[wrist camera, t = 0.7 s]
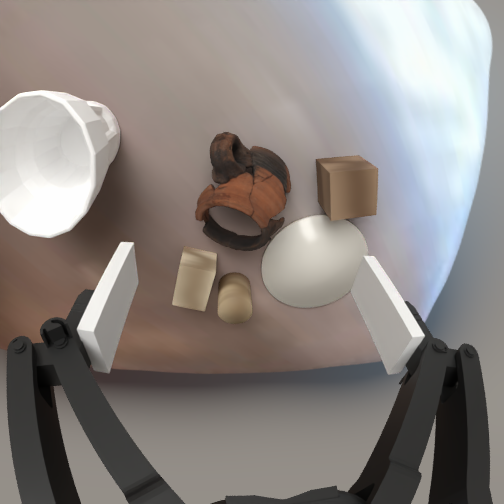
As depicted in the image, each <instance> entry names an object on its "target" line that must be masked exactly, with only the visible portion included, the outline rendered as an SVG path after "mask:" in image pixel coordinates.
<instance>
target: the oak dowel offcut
mask: <svg viewBox="0 0 504 504" xmlns="http://www.w3.org/2000/svg"><path fill="white" fill-rule="evenodd" d="M218 315H219V317H220V318H221V319H222V320H223V321H225V322H227V323H231V324H239V323H243V322H245V321H247V320H248V319H249V318H250V317H251V315H252V302H251V292H250V282H249V280H248V278H247V277H246V276H244V275H243V274H240V273H228V274H226V275H224V276H223V277H222V278H221V279H220V281H219V287H218Z"/></svg>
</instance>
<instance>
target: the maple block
mask: <svg viewBox="0 0 504 504" xmlns="http://www.w3.org/2000/svg"><path fill="white" fill-rule="evenodd" d="M216 259H217V253H212V252H208V251H203V250H199V249H195V248H190V247H186V246H184V249H183V253H182V257H181V262H180V266H179V271H178V276H177V281H176V286H175V292H174V297H173V302H172V305H175V306H180V307H185V308H190V309H194V310H199V311H204V312H205V308H206V305H207V301H208V298H209V294H210V291H211V287H212V284H213V280H214V277H215V274H216Z"/></svg>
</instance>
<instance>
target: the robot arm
mask: <svg viewBox="0 0 504 504" xmlns="http://www.w3.org/2000/svg"><path fill="white" fill-rule="evenodd" d="M138 283H139V282H138V274H137V267H136V258H135V250H134V243H133V242H121V243H120V244H119V246H118V248H117V250H116V252H115V253H114V255H113V257H112V259H111V261H110V262H109V264H108V266H107V268H106V270H105V272H104V274H103V276H102V278H101V280H100V282H99V283H98V285H97V287H96V289H95V290H86V289H85V290H84V291H83V292H82V293H81V294H80V295H79V296H78V297H77V299H76V301H75V303H74V305H73V307H72V309H71V311H70V313H69V315H68V317H67V319H66V320H65V319H62V318H58V317H55V318H51V319H49V320H47V321H46V322H45V323H44V324H43V325H42V326H41V329H40V335H41V337H42V339H43V341H44V343H35V344H32V342H31V340H30V339H29V338H28V337H25V336H19V337H17V338H15V339H13V340H12V341H11V342H10V344H9V346H8V350H7V410H8V424H9V435H10V443H11V451H12V458H13V464H14V469H15V475H16V480H17V484H18V489H19V493H20V497H21V501H22V504H81V502H80V499H79V496H78V493H77V490H76V487H75V484H74V480H73V477H72V474H71V470H70V467H69V463H68V459H67V455H66V452H65V447H64V443H63V439H62V434H61V429H60V424H59V420H58V414H57V407H56V401H55V394H54V387H53V386H57V385H58V386H59V385H62V387H63V389H64V391H65V393H66V395H67V398H68V400H69V402H70V404H71V406H72V408H73V410H74V412H75V414H76V416H77V418H78V420H79V422H80V424H81V426H82V428H83V430H84V432H85V433H86V435H87V437H88V438H89V440H90V442H91V444H92V446H93V447H94V449H95V451H96V452H97V454H98V456H99V457H100V459H101V461H102V462H103V464H104V465H105V467H106V468H107V470H108V472H109V473H110V475H111V476H112V478H113V479H114V480H115V482H116V483H117V485H118V486H119V488H120V489H121V490H122V492H123V493H124V495H125V497H126V500H127V501H128V503H129V504H185V503H184V502H183V501H182V500H181V499H180V498H179V496H178V495H177V494H176V493H175V492H174V491H173V490H172V489H171V487H170V486H169V485H168V484H167V483H166V482H165V481H164V479H163V478H162V477H161V476H160V475H159V474H158V473H157V472H156V470H155V469H154V468H153V467H152V465H151V464H150V463H149V461H148V460H147V459H146V458H145V456H144V455H143V454H142V452H141V451H140V450H139V448H138V447H137V445H136V444H135V443H134V441H133V440H132V438H131V437H130V435H129V434H128V433H127V431H126V430H125V428H124V427H123V425H122V424H121V422H120V421H119V419H118V418H117V416H116V415H115V413H114V411H113V410H112V408H111V406H110V405H109V403H108V402H107V400H106V398H105V396H104V395H103V393H102V391H101V390H100V388H99V386H98V385H97V383H96V381H95V379H94V377H93V375H92V373H91V372H90V370H89V368H90V365H92V367H93V369H94V371H98V372H105V373H110V370H111V366H112V363H113V359H114V356H115V352H116V349H117V346H118V342H119V339H120V336H121V333H122V330H123V327H124V324H125V320H126V317H127V314H128V311H129V309H130V306H131V303H132V300H133V297H134V294H135V291H136V289H137V286H138ZM351 294H352V296H353V298H354V300H355V302H356V304H357V306H358V309H359V311H360V313H361V315H362V317H363V319H364V321H365V323H366V326H367V328H368V330H369V332H370V334H371V336H372V339H373V341H374V343H375V345H376V348H377V350H378V352H379V354H380V357H381V359H382V361H383V363H384V366H385V368H386V370H387V373H388V374H396V373H400V372H401V371H402V370H403V368H404V366H405V365H406V367H407V369H408V372H407V373H406V374H405V376H404V377H403V378H402V380H401V381H400V382H399V384H401V383H402V385H401V388H400V391H399V393H398V396H397V398H396V401H395V404H394V406H393V408H392V411H391V413H390V415H389V418H388V420H387V422H386V425H385V427H384V429H383V431H382V434H381V436H380V438H379V440H378V442H377V444H376V446H375V448H374V451H373V452H372V454H371V456H370V458H369V461H368V462H367V464H366V466H365V468H364V470H363V472H362V473H361V475H360V477H359V479H358V480H357V482H356V483H355V484H354V485H353V486H352V487H351V488H350V490H349V491H348V492H345V491H339V490H337V486H332V487H327V488H321V489H315V490H310V491H307V492H305V493H302V494H300V495H297V496H294V497H291V498H288V499H283V500H282V499H274V498H267V497H261V496H255V495H253V496H226V498H225V500H221V501H217V502H214V503H212V504H411V501H412V500H413V498H414V495H415V493H416V490H417V488H418V485H419V483H420V480H421V473H420V472H418V469H419V466H420V463H421V460H422V457H423V455H424V452H425V449H426V446H427V443H428V439H429V436H430V433H431V430H432V426H433V423H434V419H435V415H436V431H435V449H434V461H433V471H432V480H431V487H430V494H429V502H428V504H493V502H492V498H491V493H490V488H489V482H490V450H489V449H490V448H489V430H488V429H489V428H488V416H487V407H486V398H485V391H484V384H483V378H482V372H481V366H480V361H479V357H478V353H477V351H476V350H475V348H474V347H473V346H471V345H469V344H462V345H461V346H460V348H459V349H458V350H454V349H449V348H448V347H447V345H446V344H445V343H444V342H443V341H441V340H440V339H437V338H433V337H432V335H431V333H430V331H429V330H428V328H427V327H426V325H425V323H424V322H423V321H422V318H421V317H420V315H419V314H418V312H417V310H416V309H415V307H414V306H412V305H411V304H410V303H409V302H408V301H403V299H402V297H401V296H400V294H399V293H398V291H397V290H396V288H395V287H394V285H393V283H392V282H391V280H390V279H389V277H388V276H387V274H386V273H385V271H384V270H383V269H382V267H381V266H380V264H379V263H378V261H377V260H376V258H375V257H374V256H363V258H362V261H361V264H360V267H359V269H358V272H357V275H356V278H355V281H354V283H353V286H352V289H351Z"/></svg>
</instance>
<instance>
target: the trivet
mask: <svg viewBox="0 0 504 504" xmlns="http://www.w3.org/2000/svg"><path fill="white" fill-rule="evenodd" d="M363 256H368V248H367V244H366V241H365V239H364V236H363V235H362V233H361V232H360V231H359V229H358V228H357V227H356V226H355V225H353V224H352V223H351V222H349V221H347V220H346V219H342V220H334V221H331V220H330V219H329V217H328V216H327V215H323V214H322V215H313V216H308V217H304V218H301V219H299V220H296V221H294V222H292V223H291V224H289V225H287V226H286V227H284V228H283V229H282V230H281V231H279V232H278V233H277V234H276V235H275V236H274V238H273V239H272V240H271V241H270V243H269V244H268V246H267V248H266V250H265V252H264V255H263V259H262V265H261V271H262V277H263V281H264V284H265V286H266V288H267V289H268V291H269V292H270V293H271V294H272V295H273V296H274V297H275V298H276V299H277V300H279V301H281V302H283V303H285V304H287V305H290V306H294V307H300V308H312V307H319V306H323V305H326V304H329V303H332V302H334V301H336V300H338V299H340V298H341V297H343V296H344V295H346V294H347V293H348V292H349V291H350V290H351V289H352V286H353V283H354V281H355V278H356V275H357V272H358V269H359V267H360V264H361V261H362V258H363Z"/></svg>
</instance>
